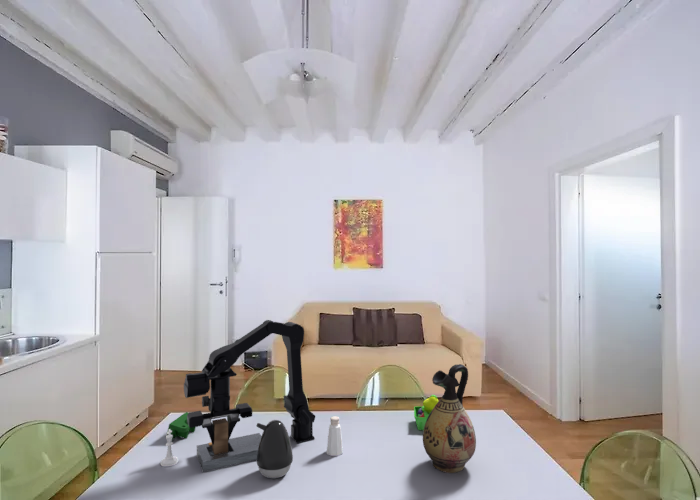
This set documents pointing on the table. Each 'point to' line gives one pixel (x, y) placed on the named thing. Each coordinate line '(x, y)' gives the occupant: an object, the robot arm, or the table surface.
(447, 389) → the ceramic jug
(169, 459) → the chess piece
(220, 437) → the walnut peg
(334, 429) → the pepper shaker
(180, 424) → the clamp
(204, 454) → the grey peg hole board
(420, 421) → the fruit basket
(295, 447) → the table surface
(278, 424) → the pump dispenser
